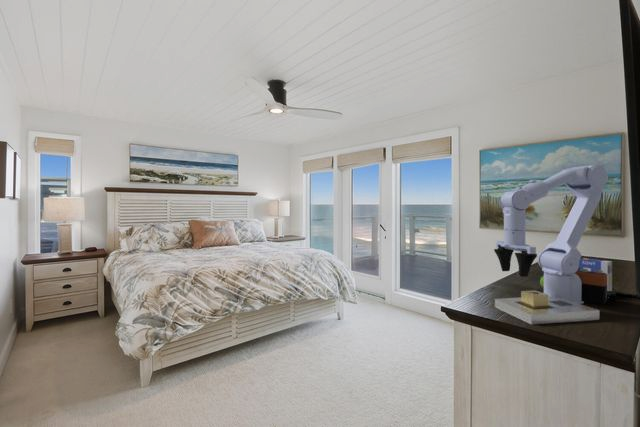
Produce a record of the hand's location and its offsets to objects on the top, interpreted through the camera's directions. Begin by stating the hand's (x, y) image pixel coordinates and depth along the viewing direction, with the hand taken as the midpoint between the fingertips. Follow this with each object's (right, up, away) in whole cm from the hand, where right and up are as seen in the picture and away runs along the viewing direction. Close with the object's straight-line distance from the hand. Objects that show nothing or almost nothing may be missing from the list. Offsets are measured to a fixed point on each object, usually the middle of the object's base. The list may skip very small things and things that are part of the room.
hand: (514, 273), depth 99 cm
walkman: (+32, -9, +9) cm, 35 cm away
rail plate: (+3, -10, -8) cm, 13 cm away
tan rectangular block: (0, -10, -9) cm, 13 cm away
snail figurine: (+21, -9, +15) cm, 28 cm away
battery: (+25, -9, +2) cm, 27 cm away
